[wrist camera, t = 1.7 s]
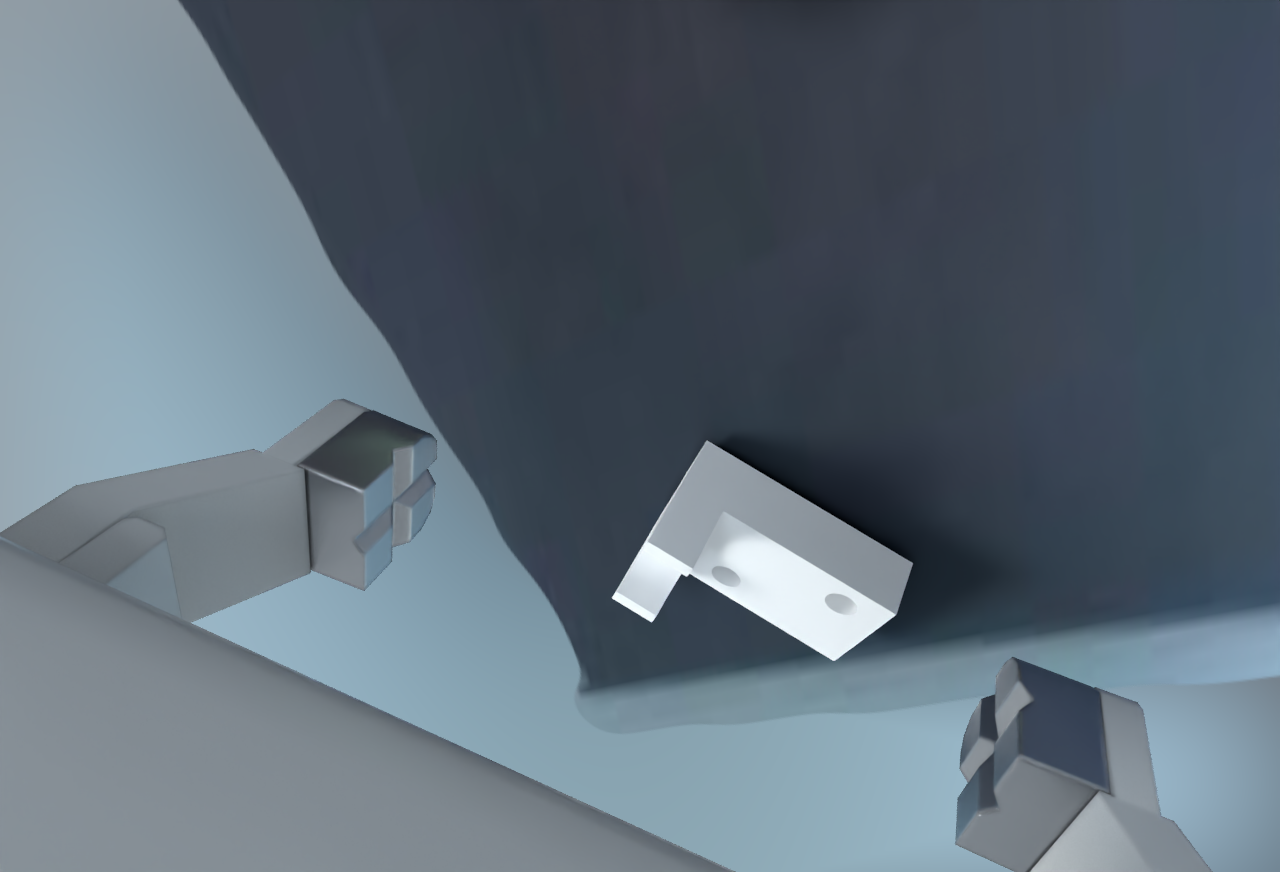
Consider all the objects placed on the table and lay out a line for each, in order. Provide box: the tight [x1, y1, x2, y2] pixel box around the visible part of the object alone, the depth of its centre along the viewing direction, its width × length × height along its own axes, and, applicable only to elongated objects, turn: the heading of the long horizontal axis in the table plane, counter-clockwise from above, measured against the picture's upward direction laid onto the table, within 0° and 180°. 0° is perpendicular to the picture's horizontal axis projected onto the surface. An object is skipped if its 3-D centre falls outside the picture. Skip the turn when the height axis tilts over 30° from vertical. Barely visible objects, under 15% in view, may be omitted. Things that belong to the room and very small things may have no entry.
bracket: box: [612, 441, 913, 661], centre depth 48 cm, size 13×7×8 cm, turn 66°
